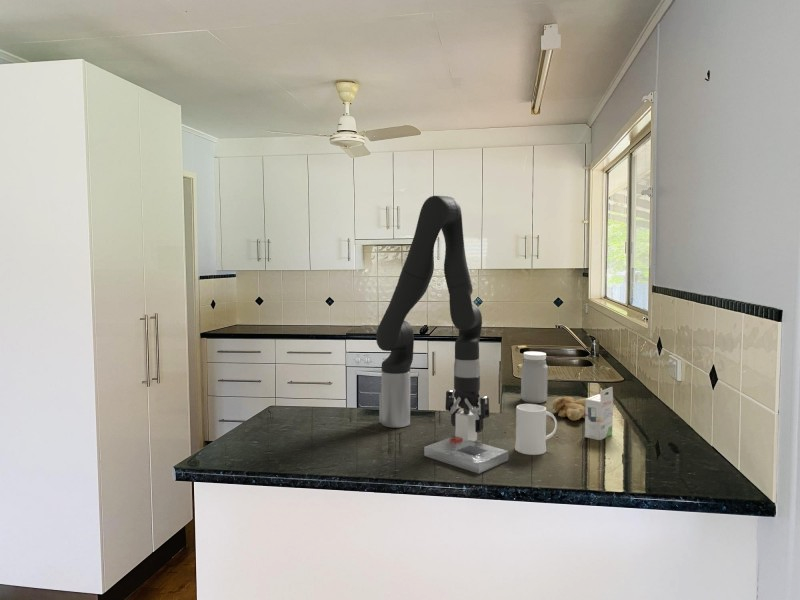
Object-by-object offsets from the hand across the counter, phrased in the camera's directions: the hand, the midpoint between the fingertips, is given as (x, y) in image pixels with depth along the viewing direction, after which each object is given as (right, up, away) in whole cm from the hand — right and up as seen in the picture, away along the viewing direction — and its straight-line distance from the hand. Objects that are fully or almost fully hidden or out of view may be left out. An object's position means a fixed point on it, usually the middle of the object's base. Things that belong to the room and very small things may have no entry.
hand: (466, 428), depth 161 cm
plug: (0, -3, +1) cm, 4 cm away
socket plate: (-2, -4, -14) cm, 15 cm away
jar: (+31, 0, +47) cm, 56 cm away
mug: (+18, -4, -8) cm, 20 cm away
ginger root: (+38, -2, +26) cm, 46 cm away
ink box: (+40, -3, +5) cm, 41 cm away
